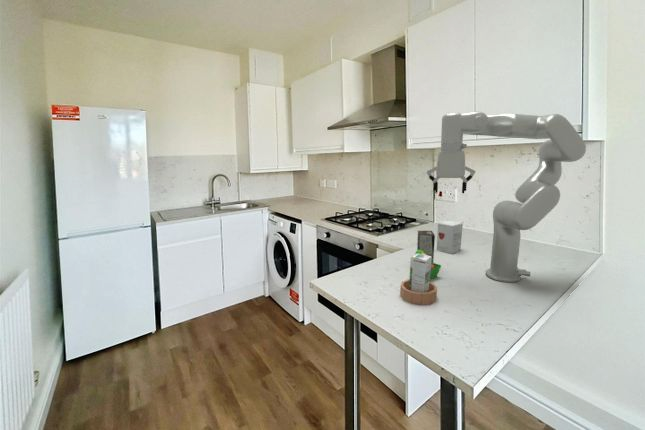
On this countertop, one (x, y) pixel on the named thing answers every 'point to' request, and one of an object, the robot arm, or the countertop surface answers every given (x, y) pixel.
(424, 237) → the coffee box
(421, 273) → the syrup box
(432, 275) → the fruit basket
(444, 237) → the supplement box
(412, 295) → the bowl
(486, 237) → the countertop surface
